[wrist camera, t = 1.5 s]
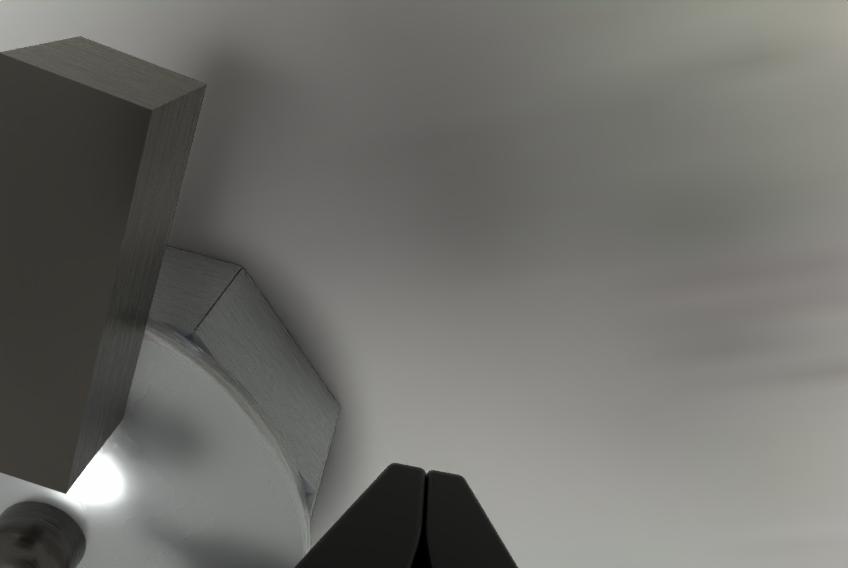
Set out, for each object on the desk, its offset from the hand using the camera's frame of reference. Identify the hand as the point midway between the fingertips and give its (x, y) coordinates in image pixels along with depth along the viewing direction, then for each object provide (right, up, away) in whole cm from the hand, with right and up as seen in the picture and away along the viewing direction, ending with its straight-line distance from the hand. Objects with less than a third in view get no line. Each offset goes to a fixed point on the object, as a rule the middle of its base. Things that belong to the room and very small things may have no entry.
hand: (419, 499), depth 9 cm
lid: (-8, -1, +8) cm, 11 cm away
